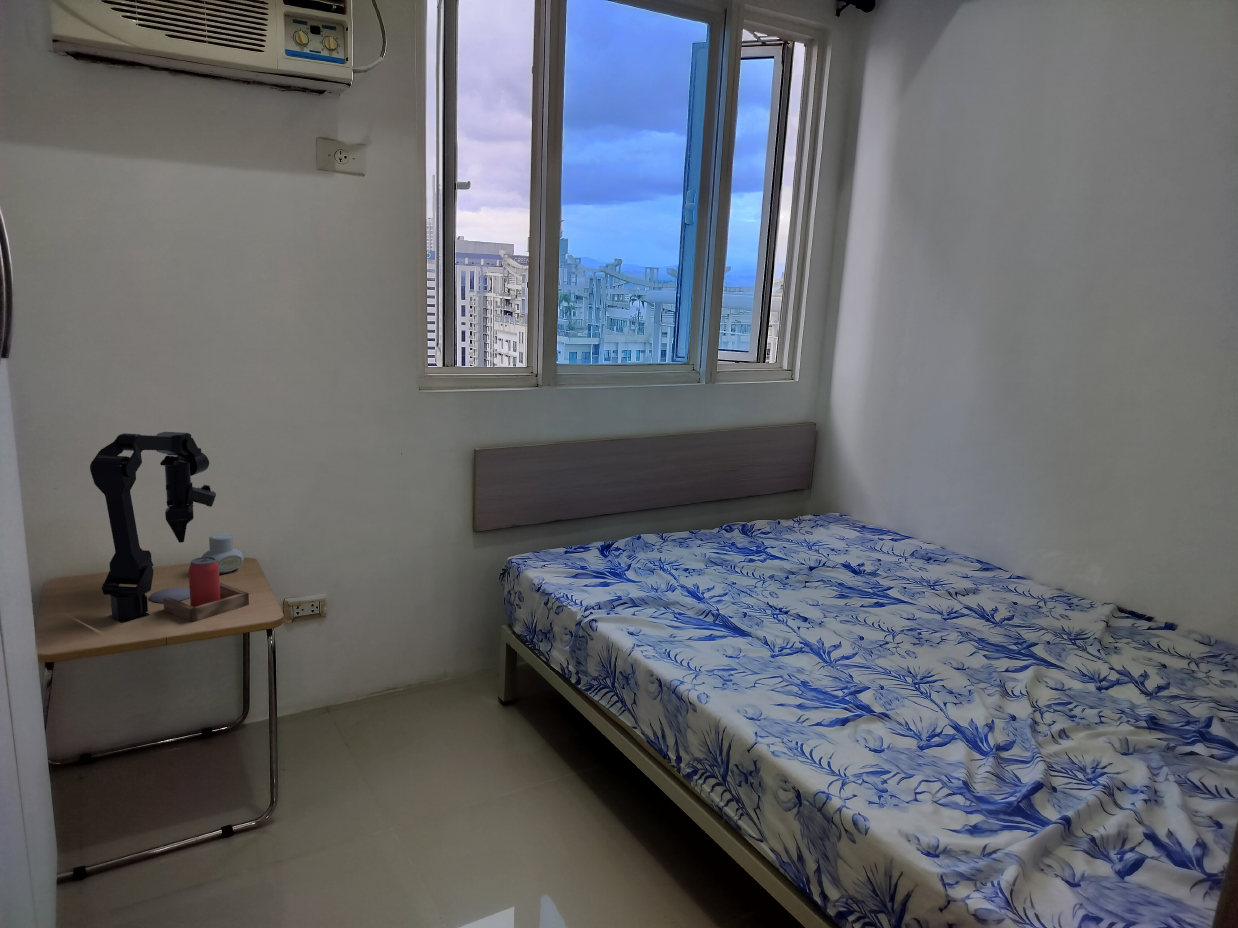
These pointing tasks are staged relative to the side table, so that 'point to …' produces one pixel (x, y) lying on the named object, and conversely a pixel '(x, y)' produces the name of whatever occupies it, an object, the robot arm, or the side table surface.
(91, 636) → the side table surface
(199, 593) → the beer can
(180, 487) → the robot arm
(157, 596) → the coaster
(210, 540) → the air freshener
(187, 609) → the tray
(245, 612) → the side table surface
